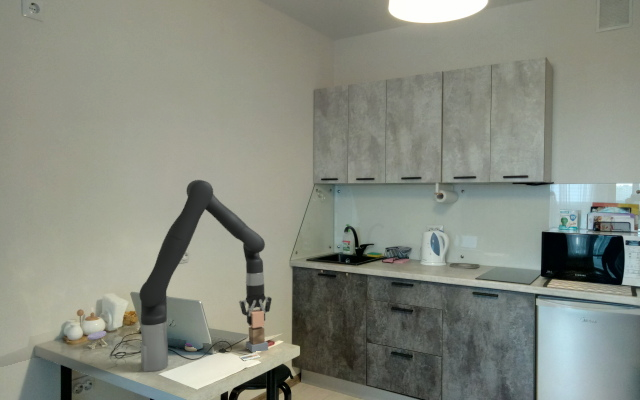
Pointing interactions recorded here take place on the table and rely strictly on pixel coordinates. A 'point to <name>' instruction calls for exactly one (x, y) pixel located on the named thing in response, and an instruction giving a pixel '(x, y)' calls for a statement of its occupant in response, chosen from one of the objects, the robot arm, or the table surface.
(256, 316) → the terracotta brick
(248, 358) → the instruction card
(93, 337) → the toy table
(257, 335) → the walnut brick
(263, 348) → the base brick
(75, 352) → the table surface
